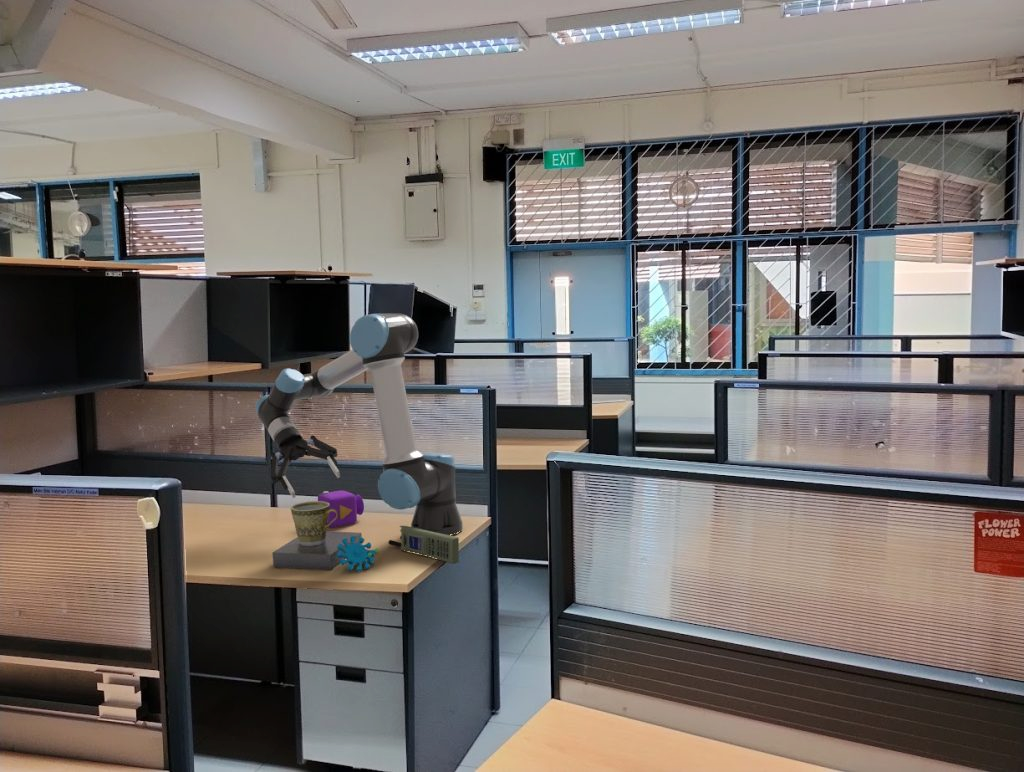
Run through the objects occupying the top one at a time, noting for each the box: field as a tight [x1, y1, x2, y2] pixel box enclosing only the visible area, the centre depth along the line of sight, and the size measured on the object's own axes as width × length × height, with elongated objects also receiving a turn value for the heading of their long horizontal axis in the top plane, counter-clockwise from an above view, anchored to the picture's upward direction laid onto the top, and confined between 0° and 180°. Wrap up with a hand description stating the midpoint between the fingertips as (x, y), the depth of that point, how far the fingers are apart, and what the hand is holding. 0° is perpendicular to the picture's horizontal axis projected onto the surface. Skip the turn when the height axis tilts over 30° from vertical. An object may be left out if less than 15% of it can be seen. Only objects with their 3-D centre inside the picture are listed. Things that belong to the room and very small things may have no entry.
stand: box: [272, 530, 363, 571], centre depth 213 cm, size 16×20×4 cm
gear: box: [337, 536, 379, 572], centre depth 205 cm, size 11×6×10 cm
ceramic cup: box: [290, 500, 338, 546], centre depth 212 cm, size 13×10×10 cm
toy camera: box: [317, 490, 365, 529], centre depth 247 cm, size 11×14×10 cm
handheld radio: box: [387, 525, 460, 564], centre depth 213 cm, size 7×3×25 cm
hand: (316, 484), depth 227 cm, fingers open, 13 cm apart
